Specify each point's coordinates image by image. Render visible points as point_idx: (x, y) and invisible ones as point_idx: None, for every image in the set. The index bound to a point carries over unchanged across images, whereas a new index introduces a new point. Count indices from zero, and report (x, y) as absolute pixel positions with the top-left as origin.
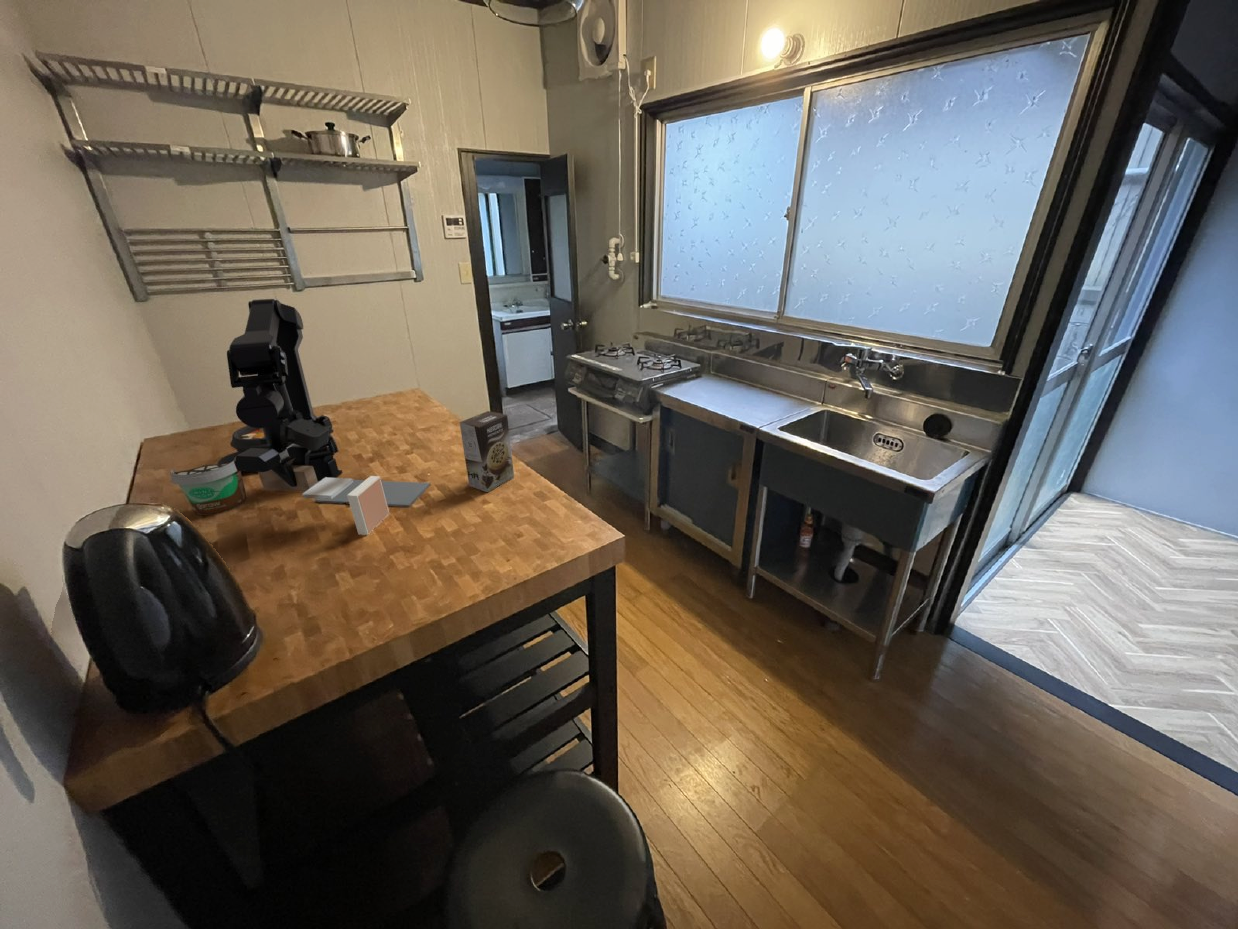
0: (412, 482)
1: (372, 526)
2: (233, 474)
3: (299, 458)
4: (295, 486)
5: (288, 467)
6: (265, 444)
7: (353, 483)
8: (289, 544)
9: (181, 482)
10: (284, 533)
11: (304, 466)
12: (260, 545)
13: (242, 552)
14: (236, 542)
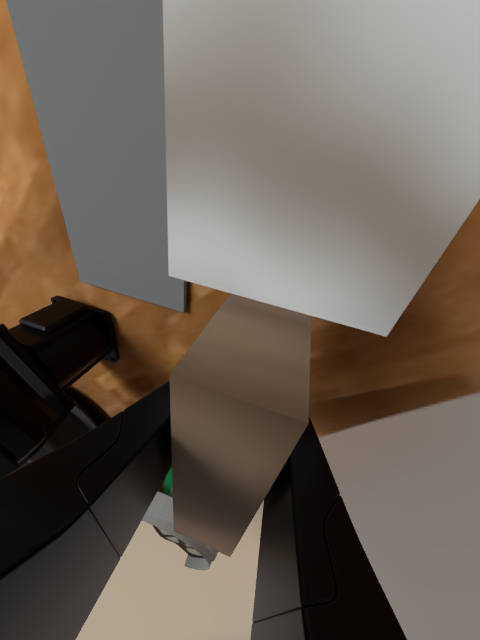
0: None
1: None
2: (167, 488)
3: (118, 504)
4: None
5: (377, 631)
6: (48, 451)
7: (88, 242)
8: (422, 301)
9: None
10: (340, 333)
11: (184, 427)
12: (389, 368)
13: (411, 393)
14: (351, 410)
